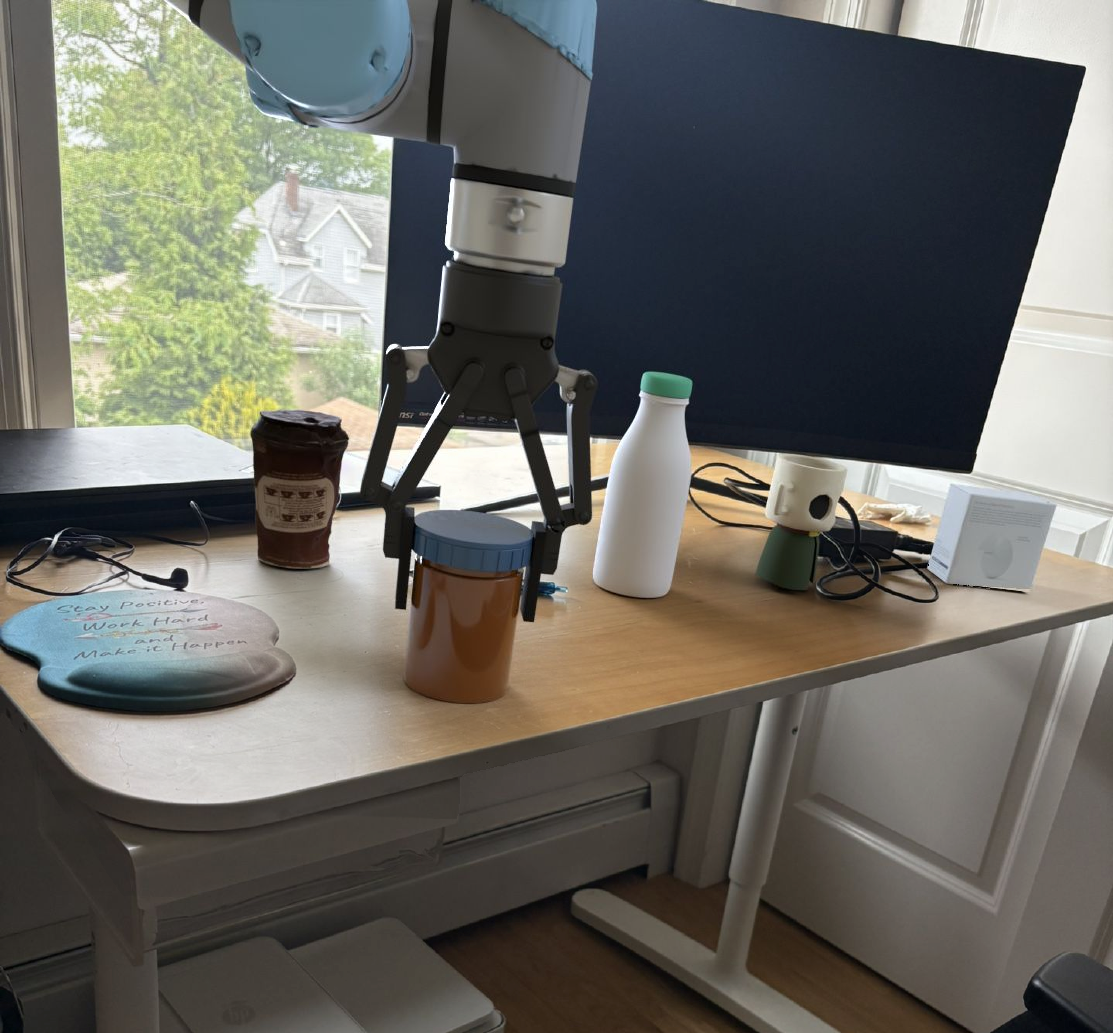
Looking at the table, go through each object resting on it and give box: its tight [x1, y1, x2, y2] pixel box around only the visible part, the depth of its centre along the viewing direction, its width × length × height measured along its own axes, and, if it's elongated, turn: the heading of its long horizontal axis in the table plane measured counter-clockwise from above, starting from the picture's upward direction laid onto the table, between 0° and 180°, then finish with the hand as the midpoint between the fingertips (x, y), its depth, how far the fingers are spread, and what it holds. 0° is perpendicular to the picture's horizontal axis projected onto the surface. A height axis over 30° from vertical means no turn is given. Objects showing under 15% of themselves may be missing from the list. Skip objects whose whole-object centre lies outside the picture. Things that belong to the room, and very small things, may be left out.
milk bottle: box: [592, 371, 693, 599], centre depth 107 cm, size 8×8×20 cm
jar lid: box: [412, 509, 534, 572], centre depth 78 cm, size 8×8×2 cm
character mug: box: [754, 453, 848, 591], centre depth 117 cm, size 11×7×13 cm, turn 138°
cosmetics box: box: [927, 483, 1057, 590], centre depth 131 cm, size 10×6×10 cm, turn 94°
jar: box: [402, 553, 525, 704], centre depth 80 cm, size 8×8×11 cm
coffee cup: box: [249, 409, 350, 570], centre depth 100 cm, size 9×8×13 cm
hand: (464, 609), depth 80 cm, fingers closed on jar lid, 8 cm apart
